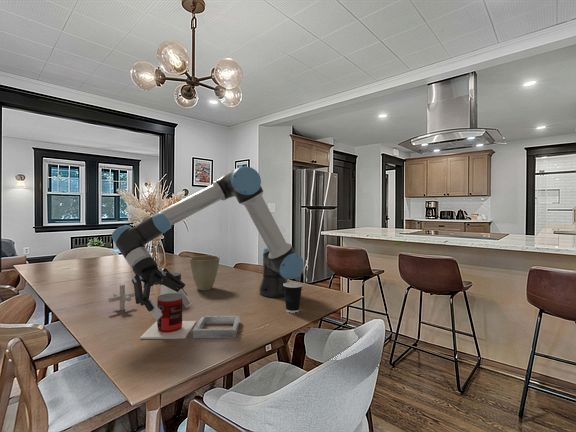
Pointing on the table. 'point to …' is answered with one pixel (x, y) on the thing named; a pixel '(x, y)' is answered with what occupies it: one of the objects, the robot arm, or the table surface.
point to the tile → (179, 334)
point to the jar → (167, 290)
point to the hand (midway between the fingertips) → (175, 311)
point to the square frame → (216, 333)
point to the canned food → (170, 312)
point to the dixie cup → (292, 296)
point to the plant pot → (204, 271)
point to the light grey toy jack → (122, 297)
